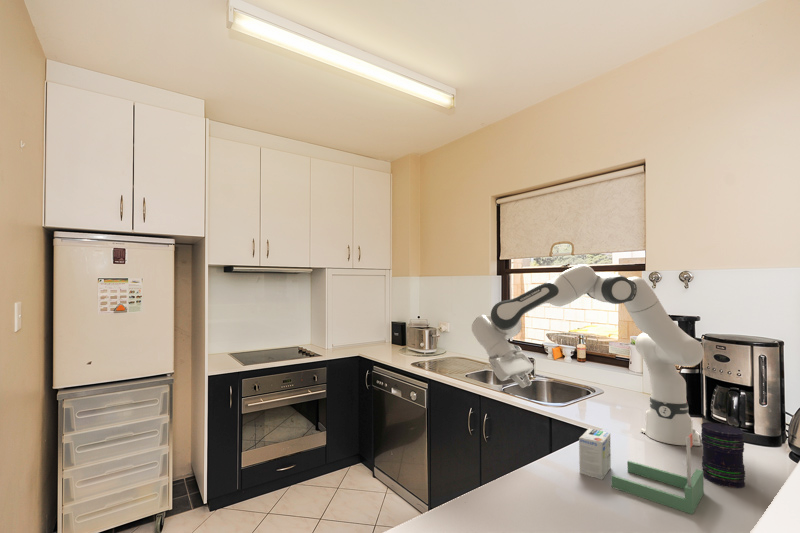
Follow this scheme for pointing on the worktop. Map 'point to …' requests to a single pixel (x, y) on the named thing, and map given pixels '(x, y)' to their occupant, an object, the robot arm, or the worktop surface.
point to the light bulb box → (594, 453)
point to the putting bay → (690, 484)
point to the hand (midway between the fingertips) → (527, 385)
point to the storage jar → (723, 455)
